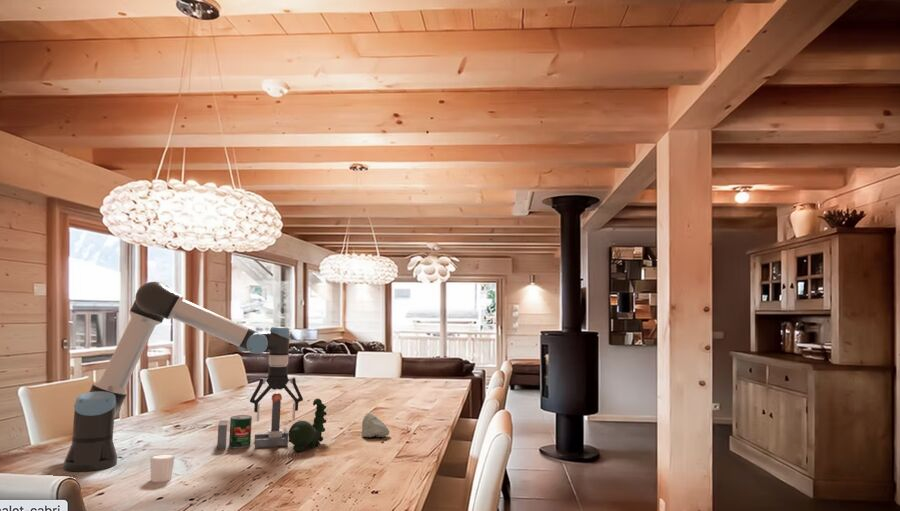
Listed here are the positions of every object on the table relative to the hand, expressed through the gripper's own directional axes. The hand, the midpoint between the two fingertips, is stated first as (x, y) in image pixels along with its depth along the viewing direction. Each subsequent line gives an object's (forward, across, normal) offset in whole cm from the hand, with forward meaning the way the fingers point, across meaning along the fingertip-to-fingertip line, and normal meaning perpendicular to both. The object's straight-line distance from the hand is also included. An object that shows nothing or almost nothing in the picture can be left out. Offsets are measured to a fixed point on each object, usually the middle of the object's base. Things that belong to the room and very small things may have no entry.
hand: (275, 420), depth 230 cm
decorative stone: (+9, -40, -3) cm, 42 cm away
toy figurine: (+9, -12, +10) cm, 18 cm away
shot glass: (+9, +36, +41) cm, 55 cm away
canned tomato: (+9, +13, 0) cm, 16 cm away
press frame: (+9, +8, 0) cm, 12 cm away
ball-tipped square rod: (+9, 0, 0) cm, 9 cm away
